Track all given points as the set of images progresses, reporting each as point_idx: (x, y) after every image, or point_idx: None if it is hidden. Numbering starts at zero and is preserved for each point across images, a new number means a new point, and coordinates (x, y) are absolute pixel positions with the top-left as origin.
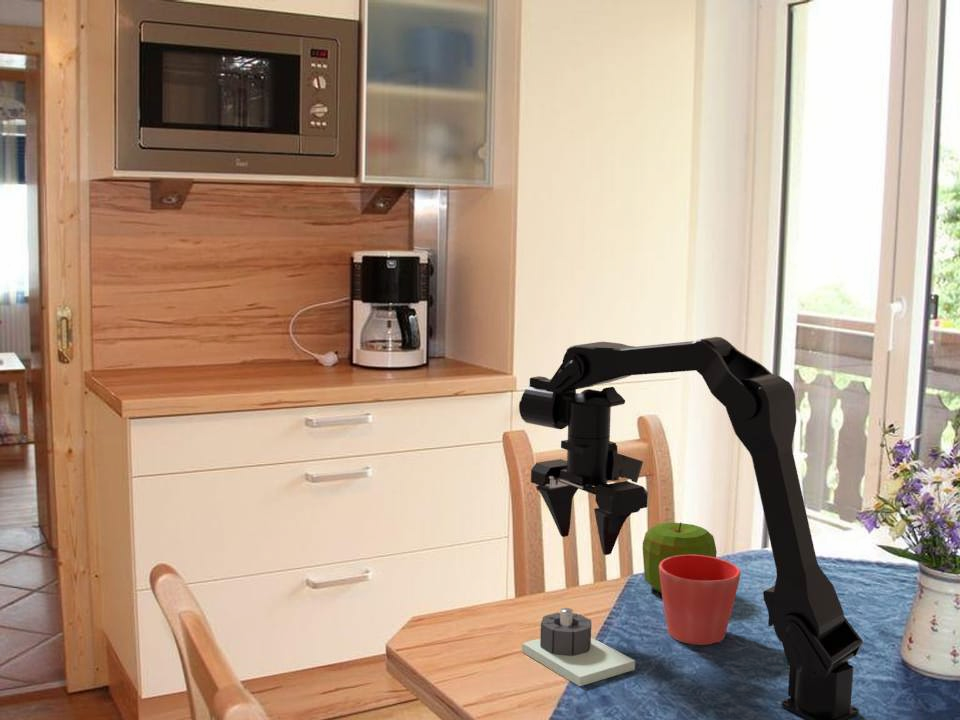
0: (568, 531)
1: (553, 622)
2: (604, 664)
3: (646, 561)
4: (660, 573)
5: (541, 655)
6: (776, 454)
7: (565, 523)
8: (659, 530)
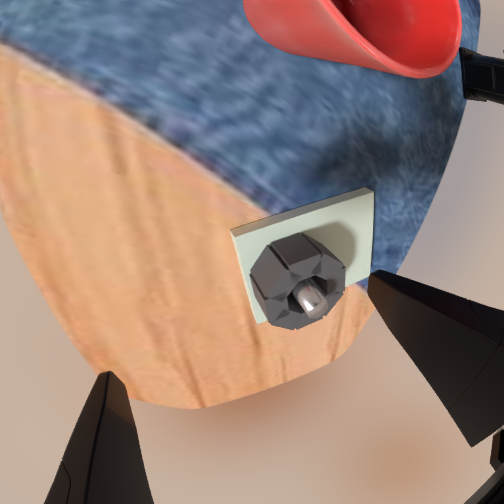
0: (109, 385)
1: (299, 313)
2: (362, 237)
3: None
4: (368, 60)
5: None
6: None
7: (118, 428)
8: None
